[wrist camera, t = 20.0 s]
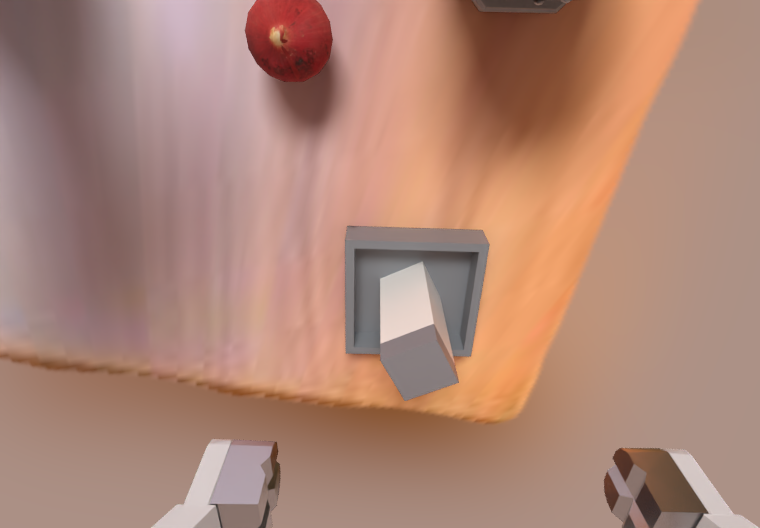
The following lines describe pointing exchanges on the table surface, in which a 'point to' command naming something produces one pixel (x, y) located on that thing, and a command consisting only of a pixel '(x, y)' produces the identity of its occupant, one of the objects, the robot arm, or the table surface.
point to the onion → (289, 38)
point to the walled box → (399, 251)
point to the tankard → (520, 5)
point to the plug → (414, 333)
